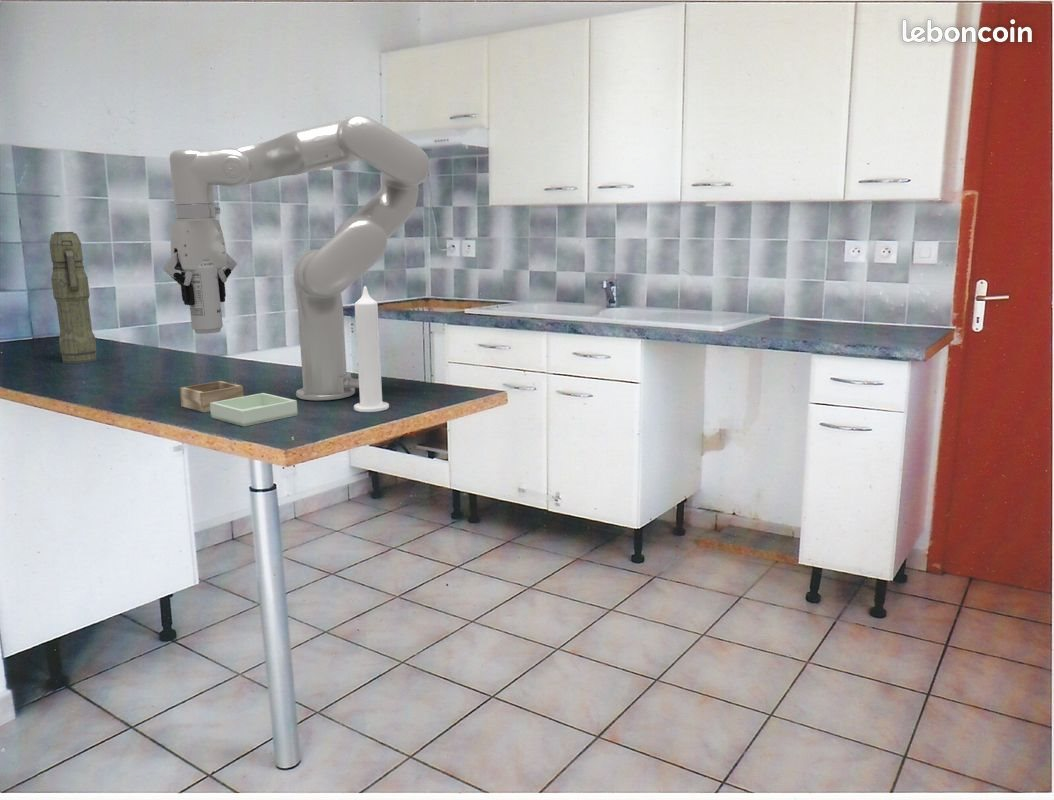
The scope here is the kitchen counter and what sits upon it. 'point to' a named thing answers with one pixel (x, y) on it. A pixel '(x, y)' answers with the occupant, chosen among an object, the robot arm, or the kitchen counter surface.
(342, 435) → the kitchen counter surface
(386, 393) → the kitchen counter surface
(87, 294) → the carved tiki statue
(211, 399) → the wooden square frame
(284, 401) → the tray
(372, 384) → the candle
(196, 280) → the energy drink can
